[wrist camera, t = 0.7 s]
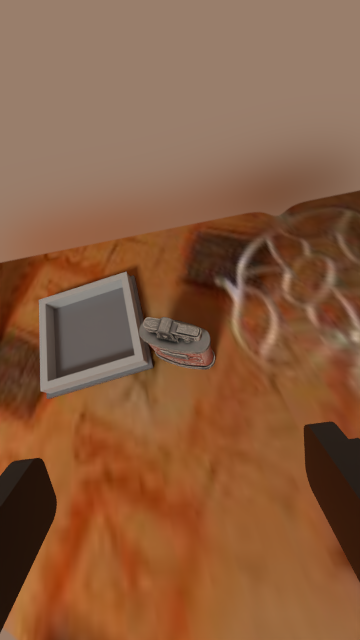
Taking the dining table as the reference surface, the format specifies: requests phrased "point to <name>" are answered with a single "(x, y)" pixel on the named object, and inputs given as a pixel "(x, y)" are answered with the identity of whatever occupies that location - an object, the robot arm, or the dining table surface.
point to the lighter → (178, 342)
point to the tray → (91, 335)
